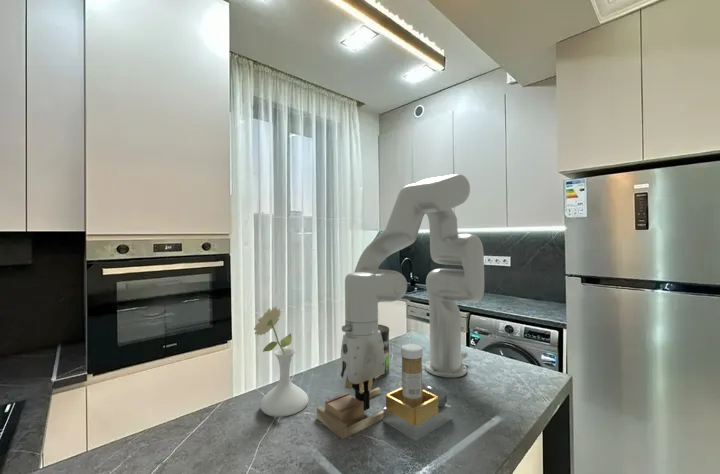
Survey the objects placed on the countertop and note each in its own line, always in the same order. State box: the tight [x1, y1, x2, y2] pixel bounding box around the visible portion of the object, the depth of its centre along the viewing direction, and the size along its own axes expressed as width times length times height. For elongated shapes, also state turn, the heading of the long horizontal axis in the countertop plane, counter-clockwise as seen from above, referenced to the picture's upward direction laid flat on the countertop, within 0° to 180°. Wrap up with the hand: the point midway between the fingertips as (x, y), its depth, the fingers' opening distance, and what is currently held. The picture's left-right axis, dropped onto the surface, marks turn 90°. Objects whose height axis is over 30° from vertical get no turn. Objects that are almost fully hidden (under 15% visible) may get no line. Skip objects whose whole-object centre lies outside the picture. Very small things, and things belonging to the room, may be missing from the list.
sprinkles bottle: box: [400, 343, 423, 408], centre depth 68 cm, size 5×5×13 cm
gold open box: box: [382, 381, 452, 442], centre depth 69 cm, size 12×9×7 cm
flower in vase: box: [253, 306, 310, 418], centre depth 75 cm, size 13×11×25 cm
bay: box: [316, 386, 384, 440], centre depth 72 cm, size 18×10×4 cm, turn 130°
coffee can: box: [376, 323, 390, 379], centre depth 95 cm, size 10×10×14 cm
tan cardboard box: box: [324, 392, 365, 427], centre depth 68 cm, size 6×6×4 cm
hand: (362, 407), depth 72 cm, fingers closed
